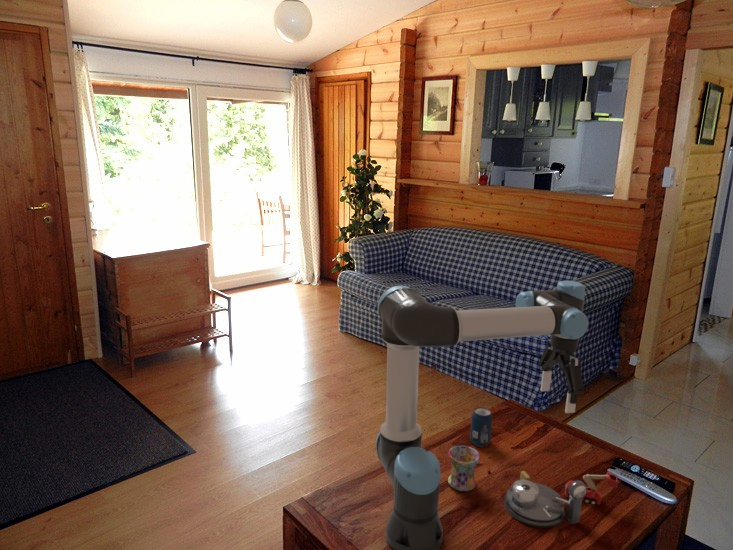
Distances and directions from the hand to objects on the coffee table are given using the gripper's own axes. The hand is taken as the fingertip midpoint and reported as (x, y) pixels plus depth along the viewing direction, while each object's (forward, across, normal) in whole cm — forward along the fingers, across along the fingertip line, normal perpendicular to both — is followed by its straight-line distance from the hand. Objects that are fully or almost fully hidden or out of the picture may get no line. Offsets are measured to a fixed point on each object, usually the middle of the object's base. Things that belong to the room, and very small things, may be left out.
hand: (556, 401), depth 166 cm
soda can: (+28, +24, +11) cm, 39 cm away
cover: (+25, -11, +14) cm, 30 cm away
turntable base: (+28, -10, +10) cm, 31 cm away
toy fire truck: (+28, -11, -8) cm, 31 cm away
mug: (+28, +5, +27) cm, 39 cm away
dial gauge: (+28, -16, +3) cm, 32 cm away
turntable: (+26, -10, +10) cm, 30 cm away
